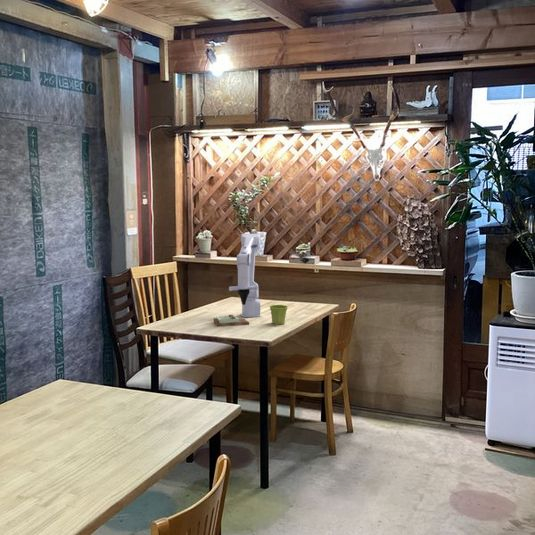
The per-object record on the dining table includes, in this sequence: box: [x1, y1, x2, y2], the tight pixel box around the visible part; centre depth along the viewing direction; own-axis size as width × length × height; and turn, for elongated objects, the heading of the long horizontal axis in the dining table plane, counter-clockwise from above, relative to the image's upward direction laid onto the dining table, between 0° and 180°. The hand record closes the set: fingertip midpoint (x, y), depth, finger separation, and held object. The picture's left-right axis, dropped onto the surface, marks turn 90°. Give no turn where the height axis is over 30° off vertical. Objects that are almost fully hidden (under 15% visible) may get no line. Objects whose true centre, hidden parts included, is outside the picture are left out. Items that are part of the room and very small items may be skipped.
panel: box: [215, 315, 240, 323], centre depth 307 cm, size 10×8×2 cm
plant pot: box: [269, 304, 289, 325], centre depth 308 cm, size 9×9×9 cm
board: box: [213, 314, 250, 327], centre depth 307 cm, size 16×9×4 cm, turn 107°
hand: (243, 304), depth 309 cm, fingers closed
